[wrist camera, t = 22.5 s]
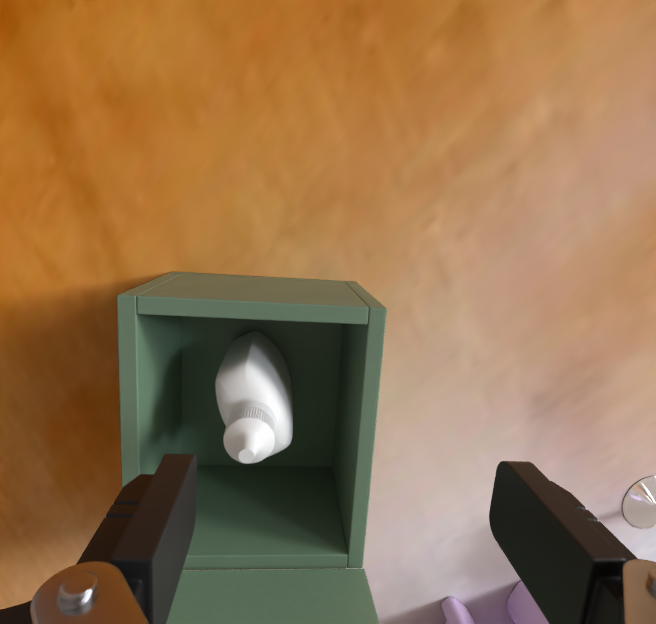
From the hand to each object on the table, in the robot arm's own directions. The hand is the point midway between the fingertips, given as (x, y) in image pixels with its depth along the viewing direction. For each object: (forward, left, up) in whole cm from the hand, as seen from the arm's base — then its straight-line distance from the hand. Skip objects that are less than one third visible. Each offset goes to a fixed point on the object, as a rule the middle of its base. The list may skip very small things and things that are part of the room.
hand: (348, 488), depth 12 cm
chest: (+5, -3, -21) cm, 21 cm away
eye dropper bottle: (+3, -3, -20) cm, 20 cm away
